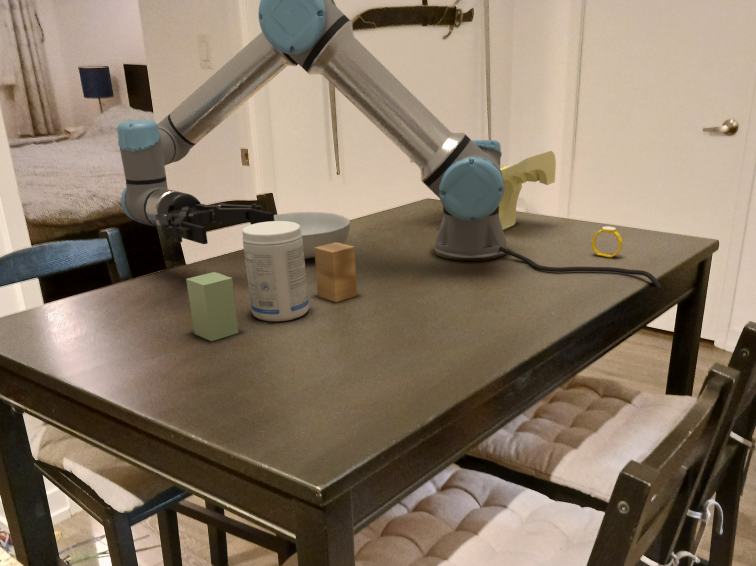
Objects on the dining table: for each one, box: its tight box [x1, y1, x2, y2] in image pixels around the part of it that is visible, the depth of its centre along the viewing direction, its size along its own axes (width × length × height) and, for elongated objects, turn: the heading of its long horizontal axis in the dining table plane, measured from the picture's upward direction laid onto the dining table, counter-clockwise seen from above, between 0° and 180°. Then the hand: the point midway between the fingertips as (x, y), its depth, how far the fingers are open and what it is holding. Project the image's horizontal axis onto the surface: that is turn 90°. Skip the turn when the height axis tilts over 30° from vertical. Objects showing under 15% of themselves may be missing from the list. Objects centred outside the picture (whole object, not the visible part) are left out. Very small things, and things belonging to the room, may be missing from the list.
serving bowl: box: [250, 211, 351, 260], centre depth 162 cm, size 21×21×7 cm
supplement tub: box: [241, 221, 310, 323], centre depth 125 cm, size 10×10×15 cm
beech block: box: [314, 242, 358, 303], centre depth 134 cm, size 5×5×9 cm
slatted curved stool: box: [409, 150, 557, 231], centre depth 181 cm, size 30×16×18 cm, turn 57°
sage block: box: [185, 271, 239, 342], centre depth 118 cm, size 5×5×9 cm
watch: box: [591, 225, 623, 259], centre depth 156 cm, size 6×3×6 cm, turn 59°
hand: (240, 228), depth 129 cm, fingers open, 13 cm apart
